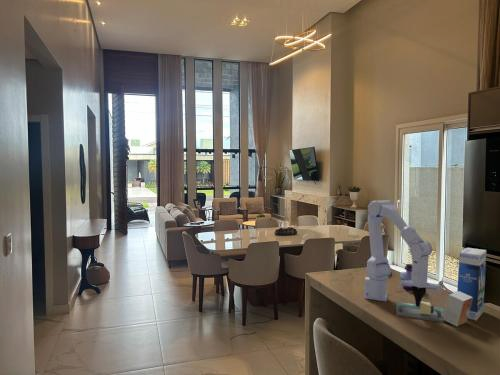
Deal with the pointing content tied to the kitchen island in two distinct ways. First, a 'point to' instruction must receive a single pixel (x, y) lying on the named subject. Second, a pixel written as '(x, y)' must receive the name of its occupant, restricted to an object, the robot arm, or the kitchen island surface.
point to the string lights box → (472, 278)
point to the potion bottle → (407, 275)
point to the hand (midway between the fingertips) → (417, 305)
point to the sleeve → (425, 308)
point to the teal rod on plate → (416, 312)
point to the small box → (457, 308)
